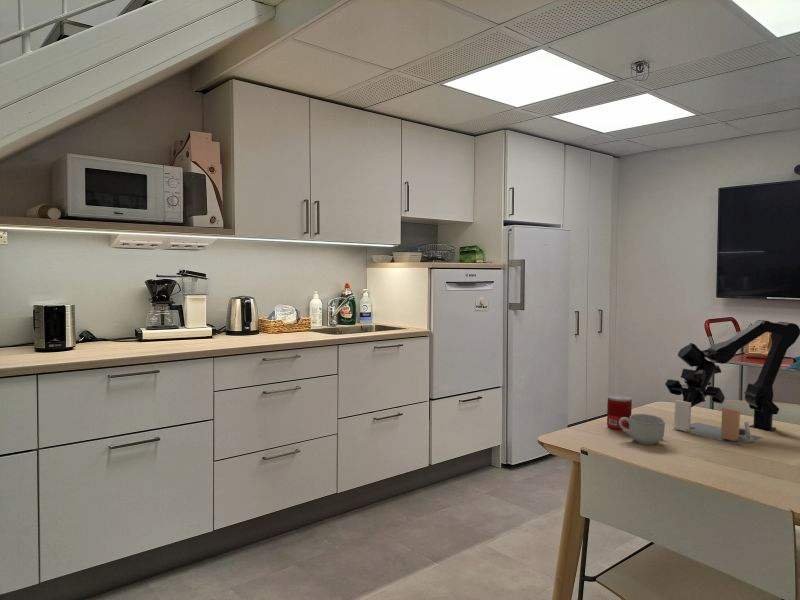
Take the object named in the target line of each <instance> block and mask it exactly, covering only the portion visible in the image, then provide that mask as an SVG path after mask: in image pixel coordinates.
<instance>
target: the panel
mask: <svg viewBox="0 0 800 600" xmlns="http://www.w3.org/2000/svg"><path fill="white" fill-rule="evenodd" d="M749 426H750V423H749V421H745V422H744V427H745V429H744V428H741V427H739V439H738V440H735V441H732V440H728V439H724V438H721V436H722V435H721V427H719V426H715V425H711V424H710V425H709V424H706V423H702V422H694V423H690V430H688V431H682V430H678V429H674V427H673V428H672V430H675V431H680V432H684V433H687V434H692V435H695V436H701V437H703V438H708V439H713V440H716V441H721V442H724V443H729V444H733V445H737V446H741V445H744V444H747V443H752V442H754V441H756V440H760V439H762V438H763V436H758V435H754V434H751V431H750V430H751V429H750V428H751V427H749ZM763 439H764V438H763Z"/></svg>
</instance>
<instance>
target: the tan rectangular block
mask: <svg viewBox="0 0 800 600" xmlns="http://www.w3.org/2000/svg"><path fill="white" fill-rule="evenodd" d="M740 419H741V410H739V409H734V408H729V407H722V409H721V427H720V428H721V435H722V436H721V438H724V439H728V440H732V441H735V440H738V439H739V428H740V421H741V420H740Z"/></svg>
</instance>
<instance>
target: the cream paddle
mask: <svg viewBox="0 0 800 600" xmlns="http://www.w3.org/2000/svg"><path fill="white" fill-rule="evenodd" d="M674 402H675V403H674V420H673V421H674V424H673V425H674V427H673V428H674V429H673V430H675V429H678V430H677V431H679V430H682V431H681V432H683V431H688V430H690V424H692V423H691V422H692V421H691V420H692V419H691V416H692V415H691V414H692V407H691V403H690V402H685V401H683V400H678V399H676V400H674Z"/></svg>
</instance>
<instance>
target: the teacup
mask: <svg viewBox="0 0 800 600" xmlns="http://www.w3.org/2000/svg"><path fill="white" fill-rule="evenodd" d="M624 420H626V421H627V422H628V424H629V426H630V427H629V428H625V427H623V425H622V421H624ZM619 426H620V427H621V429H623V430H624V432H625V433H627V435H629V436H631V438H632V439H633V440H634V441H635V442H637V443H639V444H643V445H649V446H650V445H657V444H658V443H660V442H661V441H662V440H663V439H664V437H665V426H666V420H665V419H664V418H662V417H660V416H657V415H653V414H647V413H634V414H631V416H630V419H629V418H627V417H622V418H621V419H620V420H619ZM628 429H629V430H628ZM623 430H622V431H623Z"/></svg>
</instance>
